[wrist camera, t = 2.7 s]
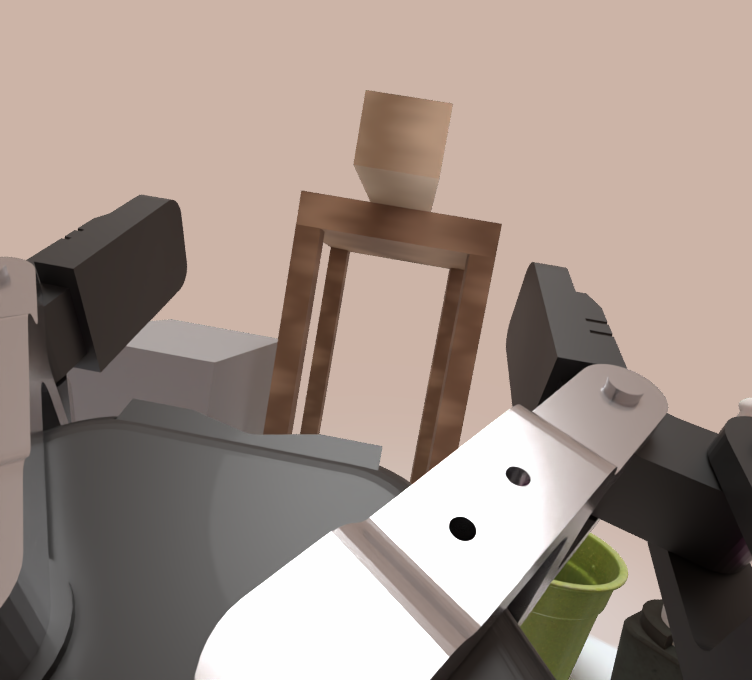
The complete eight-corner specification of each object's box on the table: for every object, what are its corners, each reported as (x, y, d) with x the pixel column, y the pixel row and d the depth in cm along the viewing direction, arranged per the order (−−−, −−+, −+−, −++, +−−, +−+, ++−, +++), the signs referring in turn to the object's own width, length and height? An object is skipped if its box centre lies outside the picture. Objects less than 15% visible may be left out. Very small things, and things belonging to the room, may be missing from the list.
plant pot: (513, 779, 30) (552, 601, 29) (402, 643, 40) (428, 508, 39) (629, 719, 36) (664, 571, 35) (507, 615, 46) (532, 497, 45)
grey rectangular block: (-3, 726, 28) (42, 330, 26) (135, 582, 41) (172, 319, 39) (155, 762, 27) (214, 362, 25) (241, 605, 41) (283, 339, 39)
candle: (562, 850, 26) (670, 383, 24) (612, 803, 29) (711, 385, 27) (664, 962, 22) (805, 414, 20) (709, 894, 25) (836, 413, 23)
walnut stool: (223, 683, 33) (301, 188, 30) (281, 563, 48) (337, 225, 45) (404, 723, 32) (502, 222, 29) (406, 589, 47) (471, 248, 44)
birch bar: (353, 164, 21) (365, 90, 21) (384, 231, 45) (389, 197, 44) (439, 178, 21) (453, 103, 20) (424, 238, 45) (430, 203, 44)
